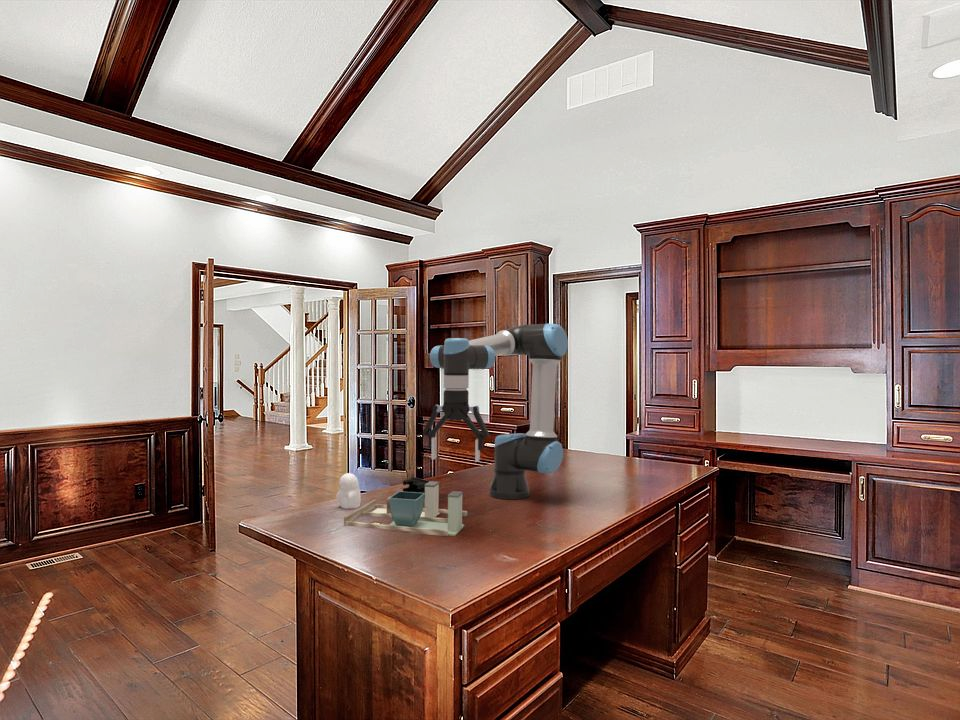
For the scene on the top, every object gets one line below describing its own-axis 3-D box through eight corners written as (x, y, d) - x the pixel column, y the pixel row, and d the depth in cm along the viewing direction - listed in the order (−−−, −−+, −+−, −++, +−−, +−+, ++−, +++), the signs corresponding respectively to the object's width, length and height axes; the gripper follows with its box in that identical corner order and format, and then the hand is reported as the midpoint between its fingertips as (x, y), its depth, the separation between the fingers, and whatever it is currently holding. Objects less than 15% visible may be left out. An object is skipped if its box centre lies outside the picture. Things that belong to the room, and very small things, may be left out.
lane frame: (467, 515, 183) (467, 506, 183) (447, 536, 162) (447, 526, 162) (374, 508, 191) (374, 499, 191) (343, 526, 170) (343, 516, 170)
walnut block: (403, 511, 186) (404, 496, 186) (402, 515, 181) (402, 499, 181) (388, 510, 186) (389, 495, 186) (386, 515, 181) (386, 499, 181)
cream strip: (440, 514, 184) (440, 481, 184) (432, 521, 176) (432, 486, 176) (377, 509, 189) (378, 476, 189) (367, 515, 182) (368, 481, 182)
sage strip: (464, 526, 172) (464, 490, 172) (455, 535, 162) (455, 497, 162) (397, 520, 177) (397, 485, 177) (384, 529, 168) (385, 492, 168)
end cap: (434, 498, 206) (434, 479, 206) (419, 501, 201) (419, 482, 201) (416, 493, 213) (417, 475, 213) (401, 496, 208) (402, 478, 208)
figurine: (334, 509, 189) (334, 473, 189) (349, 504, 196) (349, 469, 196) (350, 512, 186) (350, 476, 186) (365, 506, 193) (365, 472, 193)
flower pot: (416, 529, 166) (416, 499, 166) (388, 527, 168) (388, 497, 168) (425, 521, 175) (425, 492, 175) (398, 519, 176) (398, 491, 176)
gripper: (499, 389, 169) (498, 459, 169) (420, 387, 175) (420, 455, 175) (494, 391, 162) (493, 464, 162) (412, 389, 167) (412, 459, 168)
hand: (455, 460), depth 168 cm, fingers open, 13 cm apart
